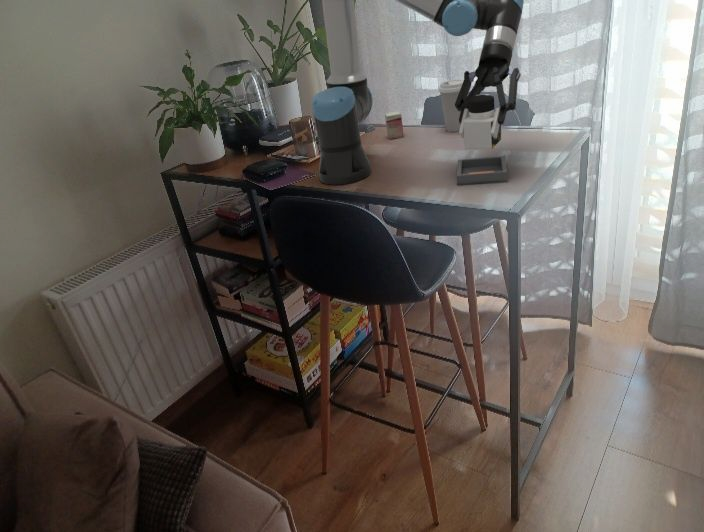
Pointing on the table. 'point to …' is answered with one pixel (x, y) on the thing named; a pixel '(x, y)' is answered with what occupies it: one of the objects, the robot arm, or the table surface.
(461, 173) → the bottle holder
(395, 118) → the small box
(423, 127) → the table surface
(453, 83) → the coffee cup
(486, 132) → the medicine bottle
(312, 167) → the table surface
